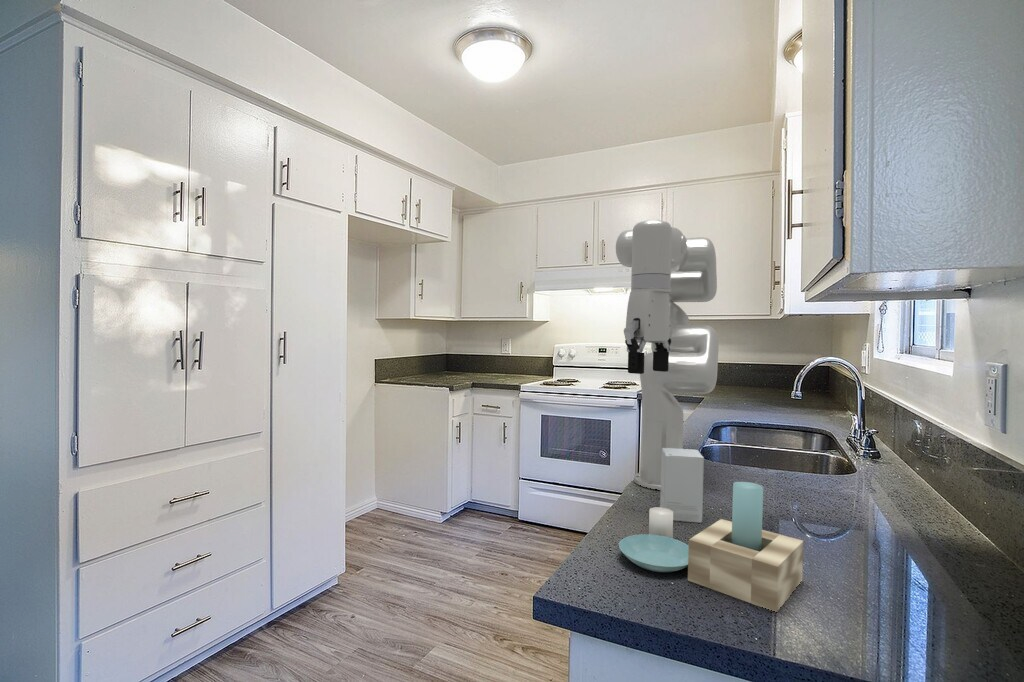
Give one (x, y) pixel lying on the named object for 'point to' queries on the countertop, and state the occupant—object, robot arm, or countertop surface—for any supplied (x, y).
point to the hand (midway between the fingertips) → (648, 372)
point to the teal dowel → (747, 515)
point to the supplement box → (682, 483)
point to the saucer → (655, 552)
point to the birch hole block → (746, 565)
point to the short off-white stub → (661, 522)
